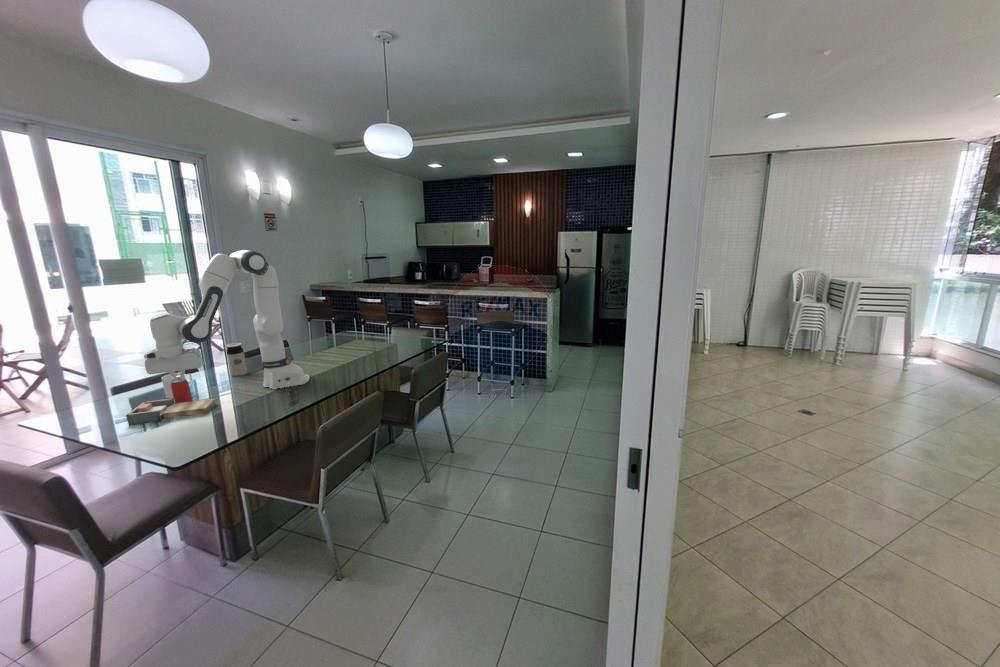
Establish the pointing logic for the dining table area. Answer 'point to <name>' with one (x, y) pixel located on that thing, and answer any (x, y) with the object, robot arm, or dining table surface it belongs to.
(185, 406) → the wooden board
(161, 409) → the tile ivory
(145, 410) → the tile terracotta
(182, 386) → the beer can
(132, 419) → the box
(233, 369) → the travel mug
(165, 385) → the mug
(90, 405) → the dining table surface
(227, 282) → the robot arm
